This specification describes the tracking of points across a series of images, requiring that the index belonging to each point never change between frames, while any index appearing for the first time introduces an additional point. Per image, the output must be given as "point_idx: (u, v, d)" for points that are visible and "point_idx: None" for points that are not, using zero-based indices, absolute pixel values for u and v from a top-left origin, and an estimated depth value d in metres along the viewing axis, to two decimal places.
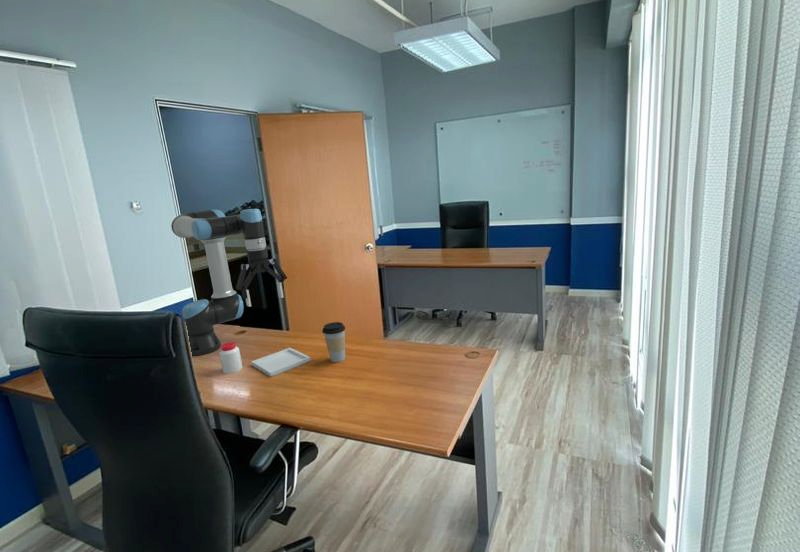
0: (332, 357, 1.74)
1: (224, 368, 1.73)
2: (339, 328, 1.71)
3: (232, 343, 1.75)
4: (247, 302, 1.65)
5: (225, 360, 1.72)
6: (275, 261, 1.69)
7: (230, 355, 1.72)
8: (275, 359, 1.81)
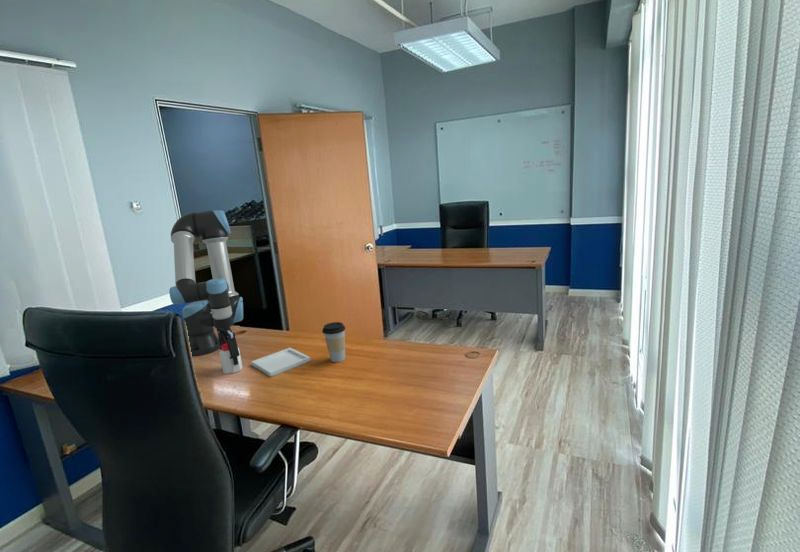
0: (332, 357, 1.74)
1: (224, 368, 1.73)
2: (339, 328, 1.71)
3: None
4: None
5: (225, 360, 1.72)
6: (228, 336, 1.68)
7: (230, 355, 1.72)
8: (275, 359, 1.81)
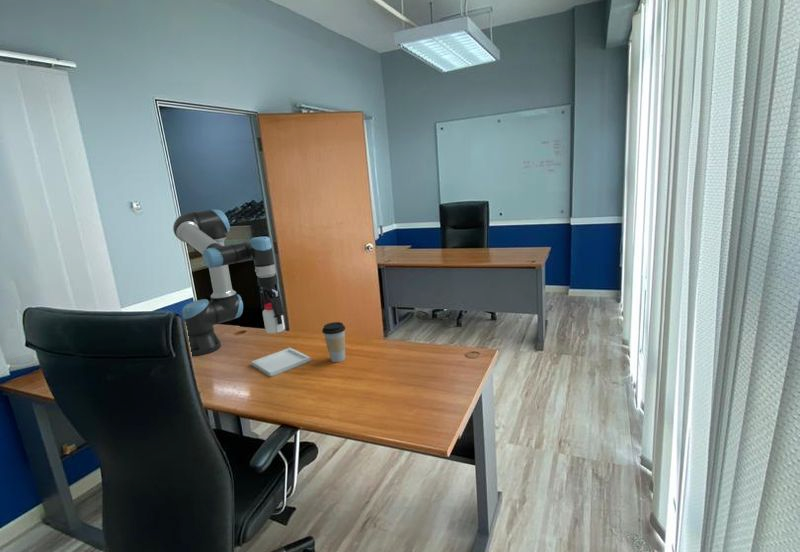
0: (332, 357, 1.74)
1: (267, 328, 1.71)
2: (339, 328, 1.71)
3: None
4: None
5: (269, 319, 1.70)
6: (273, 295, 1.66)
7: (274, 315, 1.70)
8: (275, 359, 1.81)
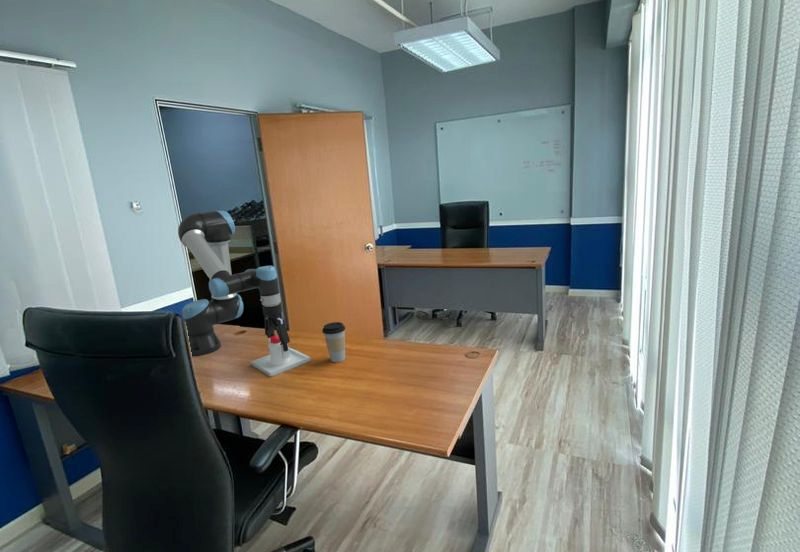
0: (332, 357, 1.74)
1: (273, 360, 1.74)
2: (339, 328, 1.71)
3: None
4: None
5: (274, 353, 1.73)
6: (278, 322, 1.69)
7: (280, 348, 1.73)
8: None
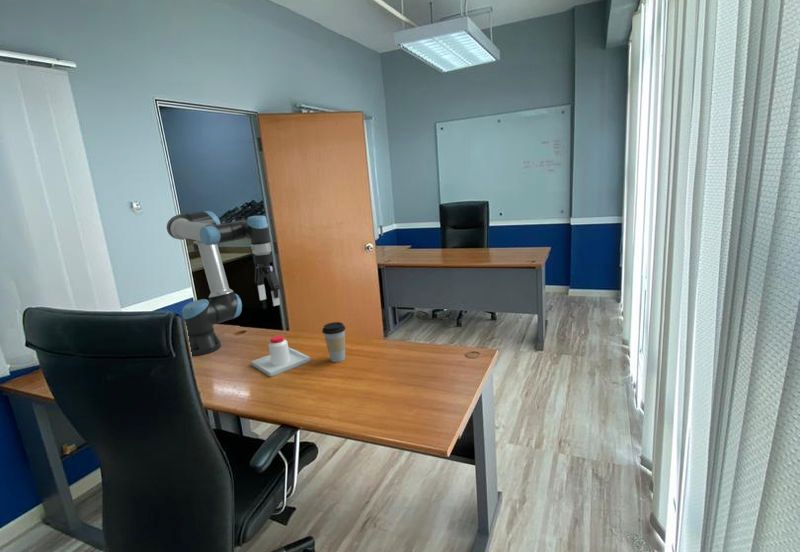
0: (332, 357, 1.74)
1: (273, 360, 1.74)
2: (339, 328, 1.71)
3: (280, 336, 1.77)
4: None
5: (275, 352, 1.73)
6: (268, 269, 1.72)
7: (280, 348, 1.73)
8: None
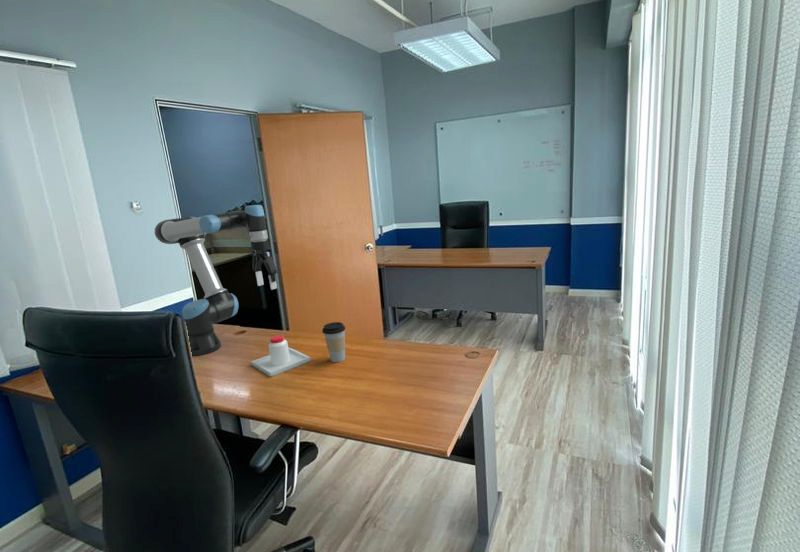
0: (332, 357, 1.74)
1: (273, 360, 1.74)
2: (339, 328, 1.71)
3: (280, 336, 1.77)
4: None
5: (275, 352, 1.73)
6: (265, 255, 1.83)
7: (280, 348, 1.73)
8: None
